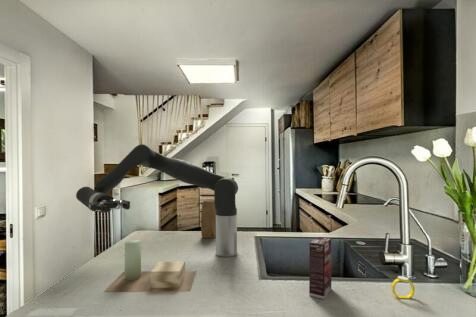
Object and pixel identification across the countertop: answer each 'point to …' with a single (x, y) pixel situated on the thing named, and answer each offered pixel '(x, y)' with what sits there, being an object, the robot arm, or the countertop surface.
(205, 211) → the block
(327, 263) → the supplement box
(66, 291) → the countertop surface
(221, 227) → the robot arm
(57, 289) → the countertop surface
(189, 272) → the walnut board
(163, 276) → the beech brick
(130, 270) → the sage cylinder
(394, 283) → the watch
